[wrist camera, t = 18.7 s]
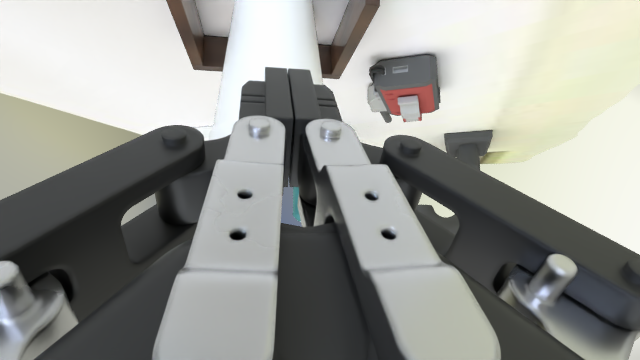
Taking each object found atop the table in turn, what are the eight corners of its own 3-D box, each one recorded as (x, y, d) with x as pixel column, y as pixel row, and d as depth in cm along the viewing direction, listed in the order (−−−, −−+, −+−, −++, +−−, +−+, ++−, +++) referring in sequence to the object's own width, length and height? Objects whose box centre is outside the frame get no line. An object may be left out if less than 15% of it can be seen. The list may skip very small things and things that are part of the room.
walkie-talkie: (350, 58, 41) (381, 112, 59) (350, 99, 40) (381, 140, 59) (437, 46, 38) (440, 106, 57) (439, 89, 37) (442, 136, 56)
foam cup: (351, 19, 33) (352, 169, 31) (265, 45, 38) (263, 176, 36) (287, -50, 25) (284, 148, 23) (188, -6, 29) (180, 161, 28)
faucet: (404, 136, 75) (406, 239, 72) (492, 129, 70) (498, 241, 67) (414, 153, 92) (416, 237, 89) (486, 148, 86) (490, 238, 84)
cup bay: (161, -61, 24) (159, -16, 23) (379, -36, 26) (379, 5, 26) (194, 39, 37) (193, 70, 36) (339, 50, 39) (339, 79, 38)
